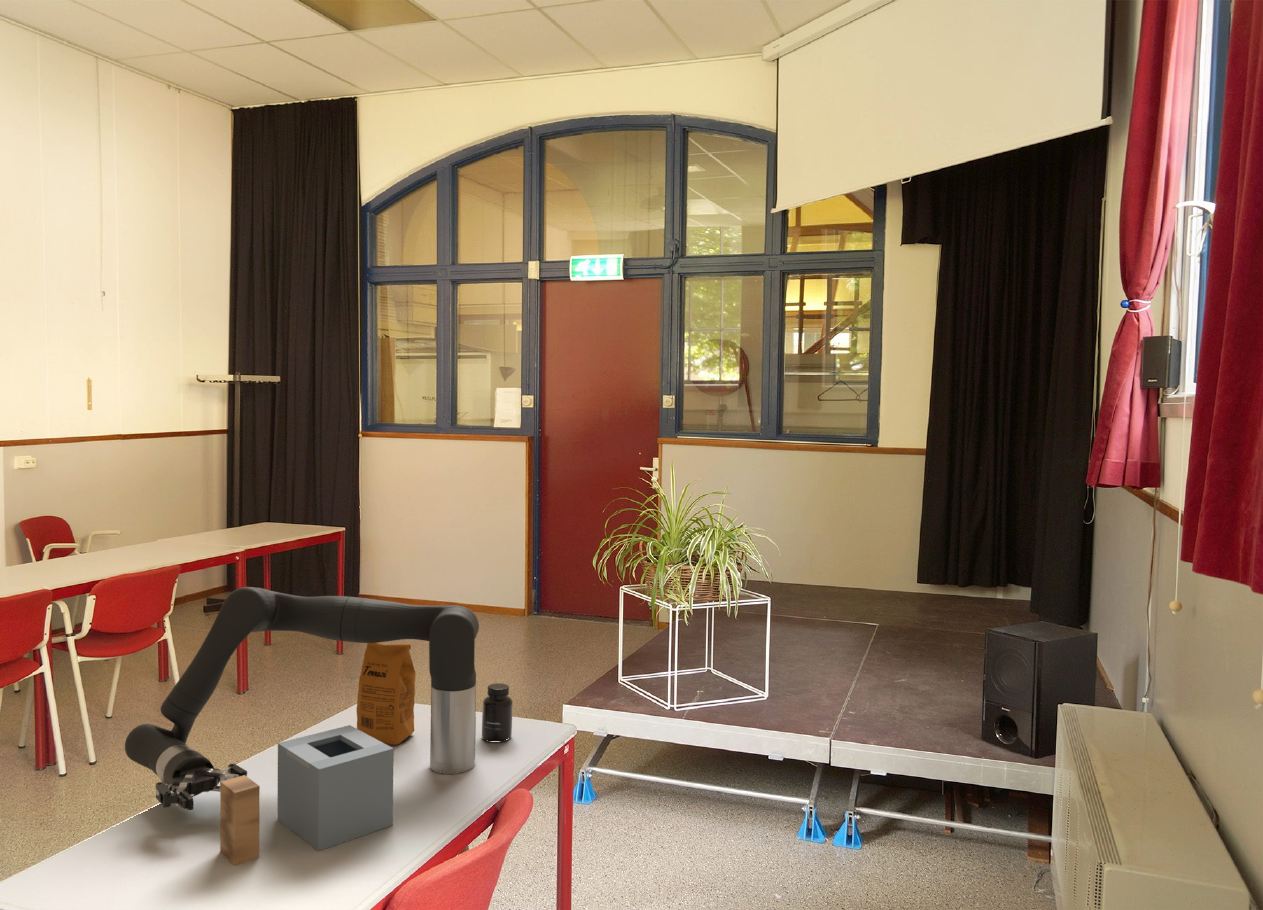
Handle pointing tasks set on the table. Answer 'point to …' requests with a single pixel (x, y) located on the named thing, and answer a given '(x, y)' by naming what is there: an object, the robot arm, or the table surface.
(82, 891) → the table surface
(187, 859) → the table surface
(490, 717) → the supplement bottle
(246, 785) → the wooden block
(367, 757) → the grey box with opening
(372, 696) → the coffee package
